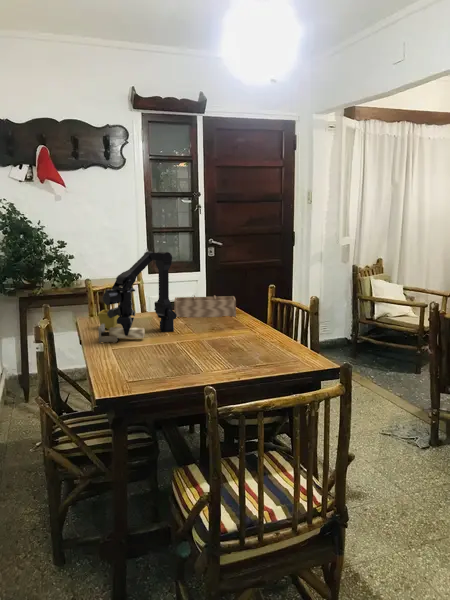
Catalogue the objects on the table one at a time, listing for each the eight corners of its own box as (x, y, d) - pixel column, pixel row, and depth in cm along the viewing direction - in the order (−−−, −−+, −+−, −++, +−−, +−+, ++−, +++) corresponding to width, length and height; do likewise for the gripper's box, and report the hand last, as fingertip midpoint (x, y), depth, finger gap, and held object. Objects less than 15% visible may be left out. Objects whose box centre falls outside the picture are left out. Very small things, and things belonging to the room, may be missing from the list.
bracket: (120, 337, 235) (119, 323, 234) (117, 342, 225) (116, 328, 224) (102, 337, 235) (102, 323, 233) (98, 343, 225) (98, 328, 223)
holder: (234, 311, 292) (233, 294, 290) (235, 316, 280) (235, 298, 278) (175, 313, 290) (174, 295, 288) (174, 317, 278) (174, 299, 276)
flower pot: (120, 326, 257) (119, 309, 255) (115, 330, 248) (114, 313, 247) (104, 326, 258) (103, 309, 256) (98, 330, 249) (97, 313, 248)
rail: (144, 336, 231) (144, 327, 231) (142, 338, 228) (142, 329, 227) (111, 335, 232) (111, 327, 232) (109, 337, 229) (108, 329, 228)
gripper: (111, 298, 236) (112, 330, 239) (104, 306, 217) (106, 340, 220) (134, 298, 237) (135, 329, 239) (129, 305, 218) (131, 339, 221)
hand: (127, 334), depth 230 cm, fingers closed on rail, 4 cm apart
